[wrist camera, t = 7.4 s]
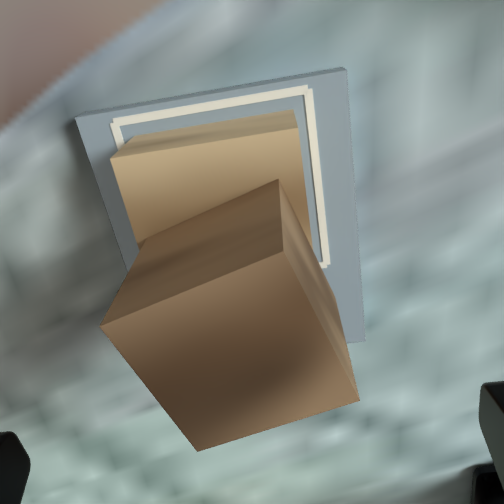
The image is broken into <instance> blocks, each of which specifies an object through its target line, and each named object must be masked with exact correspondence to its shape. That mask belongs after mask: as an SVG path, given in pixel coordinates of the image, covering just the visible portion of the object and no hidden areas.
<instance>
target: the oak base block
mask: <svg viewBox="0 0 504 504" xmlns="http://www.w3.org/2000/svg"><path fill="white" fill-rule="evenodd" d="M110 161H111V164H112V167H113V170H114V173H115V176H116V179H117V183H118V186H119V189H120V192H121V195H122V198H123V201H124V204H125V207H126V211H127V214H128V217H129V220H130V223H131V226H132V229H133V232H134V236H135V239H136V242H137V245H138V248H139V251H140V250H141V248H142V246H143V244H144V242H145V240H146V238H148V237H150V236H152V235H154V234H157V233H159V232H161V231H163V230H166V229H168V228H170V227H172V226H174V225H177V224H179V223H181V222H183V221H185V220H188V219H190V218H192V217H194V216H197V215H199V214H201V213H203V212H205V211H208V210H210V209H212V208H214V207H217V206H219V205H221V204H223V203H225V202H228V201H230V200H232V199H234V198H236V197H239V196H241V195H243V194H245V193H248V192H250V191H252V190H254V189H256V188H259V187H261V186H263V185H265V184H267V183H270V182H272V181H274V180H276V179H279V180H280V182H281V184H282V187H283V189H284V191H285V193H286V195H287V197H288V199H289V201H290V203H291V205H292V207H293V210H294V212H295V214H296V216H297V218H298V220H299V222H300V224H301V226H302V228H303V231H304V233H305V235H306V237H307V239H308V241H309V243H310V245H311V247H312V249H313V245H312V237H311V229H310V220H309V212H308V204H307V196H306V188H305V179H304V171H303V163H302V155H301V147H300V138H299V130H298V125H297V121H296V118H295V114H294V110H293V109H291V110H285V111H279V112H273V113H267V114H261V115H255V116H249V117H243V118H237V119H231V120H225V121H219V122H214V123H208V124H202V125H196V126H190V127H184V128H178V129H172V130H166V131H160V132H154V133H148V134H142V135H136V136H134V137H133V138H131V139H130V140H129V141H128V142H127V143H126V144H125V145H124V146H123V147H122V148H121V149H120V150H119V151H118V152H116V153H115V154H114V155H113V156H112V157H111V158H110Z"/></svg>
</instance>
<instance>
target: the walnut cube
mask: <svg viewBox="0 0 504 504" xmlns="http://www.w3.org/2000/svg"><path fill="white" fill-rule="evenodd" d="M99 327H100V328H101V329H102V331H103V332H104V333H105V334H106V336H107V337H108V338H109V340H110V341H111V342H112V343H113V345H114V346H115V347H116V348H117V350H118V351H119V352H120V354H121V355H122V356H123V357H124V359H125V360H126V361H127V363H128V364H129V365H130V366H131V368H132V369H133V370H134V371H135V373H136V374H137V375H138V377H139V378H140V379H141V380H142V382H143V383H144V384H145V386H146V387H147V388H148V389H149V391H150V392H151V393H152V394H153V396H154V397H155V398H156V400H157V401H158V402H159V403H160V405H161V406H162V407H163V409H164V410H165V411H166V412H167V414H168V415H169V416H170V417H171V419H172V420H173V421H174V423H175V424H176V425H177V426H178V428H179V429H180V430H181V432H182V433H183V434H184V435H185V437H186V438H187V439H188V440H189V442H190V443H191V444H192V446H193V447H194V448H195V449H196V451H197V452H198V451H202V450H205V449H208V448H211V447H214V446H218V445H221V444H224V443H227V442H230V441H233V440H237V439H240V438H243V437H246V436H249V435H252V434H256V433H259V432H262V431H265V430H268V429H271V428H275V427H278V426H281V425H284V424H287V423H291V422H294V421H297V420H300V419H303V418H306V417H310V416H313V415H316V414H319V413H322V412H325V411H329V410H332V409H335V408H338V407H341V406H344V405H348V404H351V403H354V402H357V401H360V399H359V395H358V390H357V386H356V382H355V378H354V374H353V369H352V365H351V361H350V357H349V353H348V348H347V344H346V340H345V336H344V332H343V327H342V323H341V319H340V315H339V311H338V306H337V302H336V298H335V296H334V293H333V291H332V289H331V287H330V285H329V283H328V281H327V279H326V277H325V275H324V272H323V270H322V268H321V266H320V264H319V262H318V260H317V258H316V256H315V254H314V251H313V249H312V247H311V245H310V243H309V241H308V239H307V237H306V235H305V233H304V231H303V228H302V226H301V224H300V222H299V220H298V218H297V216H296V214H295V212H294V210H293V207H292V205H291V203H290V201H289V199H288V197H287V195H286V193H285V191H284V189H283V187H282V184H281V182H280V180H279V179H276V180H274V181H272V182H270V183H267V184H265V185H263V186H261V187H259V188H256V189H254V190H252V191H250V192H248V193H245V194H243V195H241V196H239V197H236V198H234V199H232V200H230V201H228V202H225V203H223V204H221V205H219V206H217V207H214V208H212V209H210V210H208V211H205V212H203V213H201V214H199V215H197V216H194V217H192V218H190V219H188V220H185V221H183V222H181V223H179V224H177V225H174V226H172V227H170V228H168V229H166V230H163V231H161V232H159V233H157V234H154V235H152V236H150V237H148V238H146V240H145V242H144V244H143V246H142V248H141V250H140V251H139V253H138V255H137V257H136V259H135V261H134V263H133V265H132V266H131V268H130V270H129V272H128V274H127V276H126V278H125V279H124V281H123V283H122V285H121V287H120V289H119V291H118V293H117V294H116V296H115V298H114V300H113V302H112V304H111V306H110V308H109V309H108V311H107V313H106V315H105V317H104V319H103V321H102V323H101V324H100V326H99Z"/></svg>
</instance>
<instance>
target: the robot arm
mask: <svg viewBox="0 0 504 504" xmlns="http://www.w3.org/2000/svg"><path fill="white" fill-rule="evenodd" d="M479 423H480V427H481V430H482V433H483V436H484V438H485V441H486V444H487V446H488V449H489V452H490V454H491V457H492V460H493V463H494V466H482V467H479V468H477V469H475V470H474V472H473V483H472V495H471V504H504V381H498V382H488V383H484V384H483V385H482V386H481V390H480V403H479ZM30 466H31V464H30V458H29V456H28V454H27V452H26V450H25V449H24V447H23V445H22V444H21V442H20V440H19V439H18V437H17V435H16V434H15V433H13V432H11V431H7V432H0V504H21V500H22V497H23V493H24V490H25V486H26V483H27V479H28V476H29V472H30Z"/></svg>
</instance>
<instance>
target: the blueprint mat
mask: <svg viewBox="0 0 504 504" xmlns="http://www.w3.org/2000/svg"><path fill="white" fill-rule="evenodd" d="M291 109H293V110H294V114H295V118H296V121H297V125H298V130H299V138H300V147H301V155H302V163H303V171H304V179H305V188H306V196H307V204H308V212H309V220H310V229H311V237H312V245H313V251H314V254H315V256H316V258H317V260H318V262H319V264H320V266H321V268H322V270H323V272H324V275H325V277H326V279H327V281H328V283H329V285H330V287H331V289H332V291H333V293H334V296H335V298H336V302H337V306H338V311H339V315H340V319H341V323H342V327H343V332H344V336H345V340H346V343H355V342H364V341H366V339H365V325H364V310H363V296H362V282H361V267H360V253H359V238H358V224H357V209H356V195H355V180H354V166H353V151H352V137H351V122H350V108H349V94H348V79H347V70H346V69H345V68H343V67H340V68H334V69H329V70H323V71H317V72H312V73H306V74H300V75H294V76H289V77H283V78H277V79H272V80H266V81H260V82H255V83H249V84H243V85H238V86H232V87H226V88H221V89H215V90H209V91H204V92H198V93H192V94H187V95H181V96H175V97H170V98H164V99H158V100H153V101H147V102H141V103H136V104H130V105H124V106H119V107H113V108H107V109H102V110H96V111H90V112H85V113H83V114H81V115H79V116H77V117H75V120H76V123H77V126H78V129H79V132H80V135H81V138H82V140H83V143H84V146H85V149H86V152H87V155H88V158H89V161H90V164H91V167H92V170H93V173H94V175H95V178H96V181H97V184H98V187H99V190H100V193H101V196H102V199H103V202H104V205H105V208H106V210H107V213H108V216H109V219H110V222H111V225H112V228H113V231H114V234H115V237H116V240H117V243H118V245H119V248H120V251H121V254H122V257H123V260H124V263H125V266H126V269H127V272H129V270H130V268H131V266H132V265H133V263H134V261H135V259H136V257H137V255H138V253H139V248H138V245H137V242H136V239H135V236H134V232H133V229H132V226H131V223H130V220H129V217H128V214H127V211H126V207H125V204H124V201H123V198H122V195H121V192H120V189H119V186H118V183H117V179H116V176H115V173H114V170H113V167H112V164H111V161H110V158H111V157H112V156H113V155H114V154H115V153H116V152H118V151H119V150H120V149H121V148H122V147H123V146H124V145H125V144H126V143H127V142H128V141H129V140H130V139H131V138H133V137H134V136H136V135H142V134H148V133H154V132H160V131H166V130H172V129H178V128H184V127H190V126H196V125H202V124H208V123H214V122H219V121H225V120H231V119H237V118H243V117H249V116H255V115H261V114H267V113H273V112H279V111H285V110H291Z"/></svg>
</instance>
